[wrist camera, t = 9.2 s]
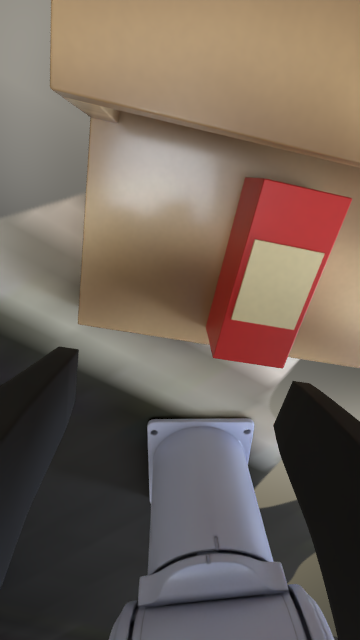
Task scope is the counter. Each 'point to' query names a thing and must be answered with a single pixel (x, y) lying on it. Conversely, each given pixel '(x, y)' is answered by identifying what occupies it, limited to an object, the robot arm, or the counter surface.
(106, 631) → the counter surface
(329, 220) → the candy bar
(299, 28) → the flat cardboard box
